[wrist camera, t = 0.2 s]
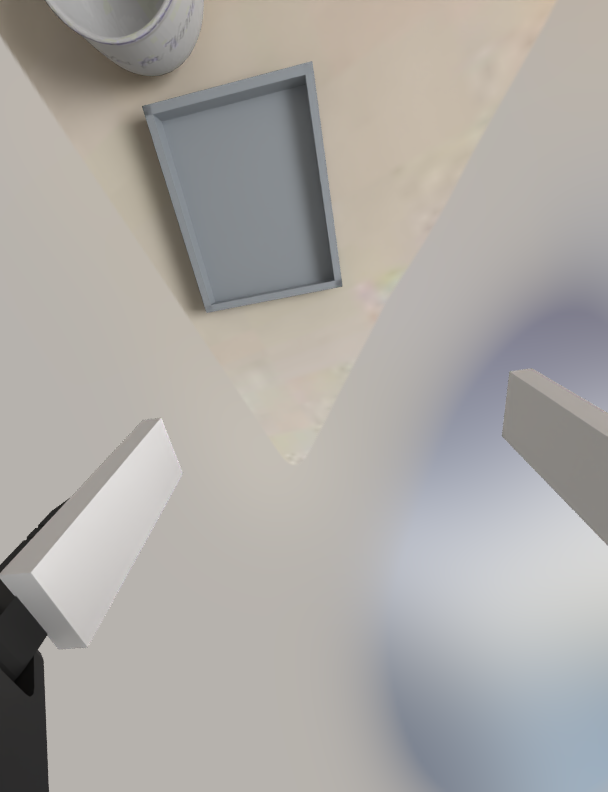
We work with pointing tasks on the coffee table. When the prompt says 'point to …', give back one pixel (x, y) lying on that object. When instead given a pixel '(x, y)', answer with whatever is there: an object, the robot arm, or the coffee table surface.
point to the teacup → (136, 30)
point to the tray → (250, 187)
